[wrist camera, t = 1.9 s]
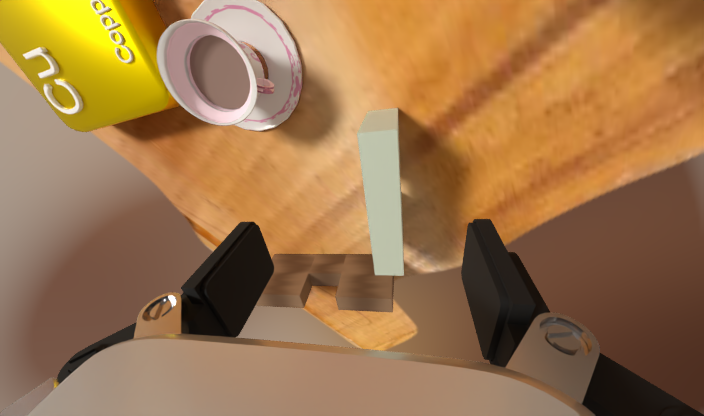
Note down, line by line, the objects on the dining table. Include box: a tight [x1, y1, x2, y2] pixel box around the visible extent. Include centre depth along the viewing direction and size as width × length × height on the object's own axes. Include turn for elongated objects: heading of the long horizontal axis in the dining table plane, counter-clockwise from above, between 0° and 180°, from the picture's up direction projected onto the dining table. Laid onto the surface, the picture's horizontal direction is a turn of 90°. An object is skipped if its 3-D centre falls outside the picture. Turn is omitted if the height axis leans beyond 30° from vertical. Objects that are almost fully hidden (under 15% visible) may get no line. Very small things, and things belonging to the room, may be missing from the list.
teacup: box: [157, 0, 302, 131], centre depth 23 cm, size 12×12×6 cm
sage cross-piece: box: [357, 108, 404, 276], centre depth 26 cm, size 3×15×8 cm, turn 8°
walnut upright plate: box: [256, 254, 394, 312], centre depth 35 cm, size 18×2×8 cm, turn 98°
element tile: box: [0, 0, 181, 132], centre depth 24 cm, size 15×15×5 cm
